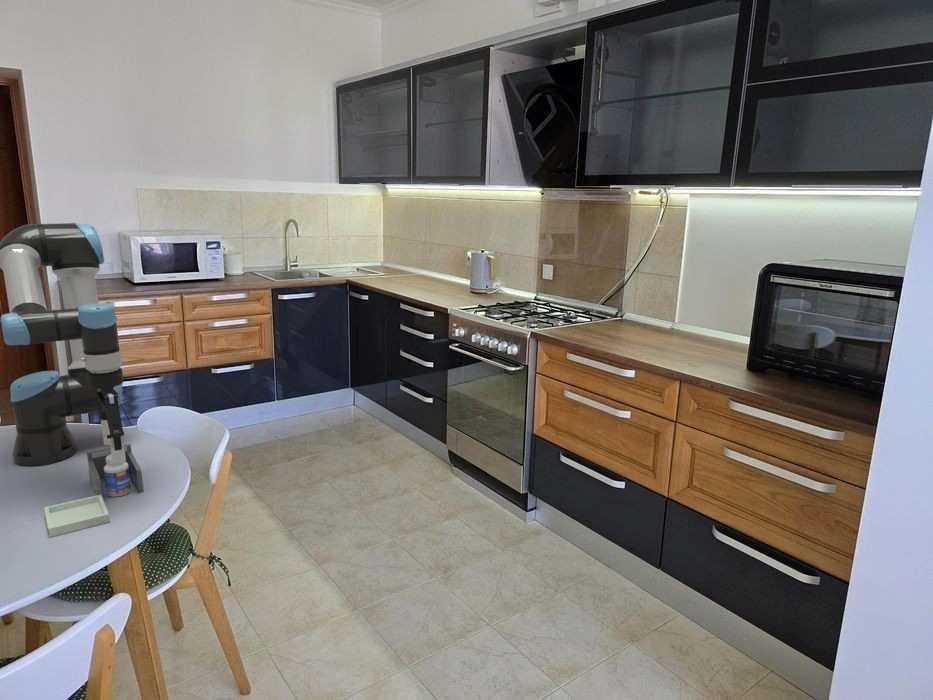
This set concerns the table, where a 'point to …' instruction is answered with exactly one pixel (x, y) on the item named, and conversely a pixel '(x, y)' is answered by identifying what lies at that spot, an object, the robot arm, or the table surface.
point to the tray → (76, 515)
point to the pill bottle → (117, 478)
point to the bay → (99, 462)
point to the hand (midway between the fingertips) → (114, 452)
